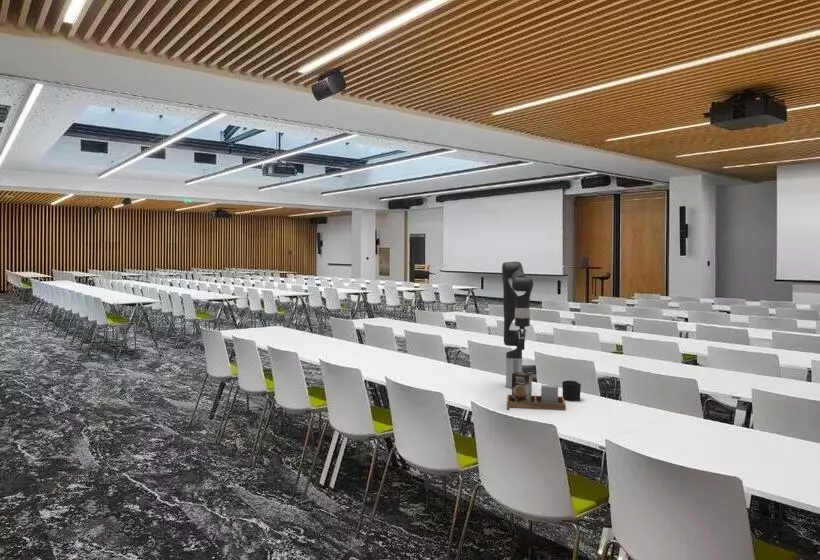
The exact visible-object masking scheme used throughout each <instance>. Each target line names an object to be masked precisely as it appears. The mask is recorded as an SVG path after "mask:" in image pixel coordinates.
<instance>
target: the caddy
mask: <svg viewBox="0 0 820 560" xmlns="http://www.w3.org/2000/svg"><path fill="white" fill-rule="evenodd" d="M506 398H507V399H506V410H508V411H509V410H510V409H525V410H527V409H528V410H550V411H552V410H553V411H566V408H567V407H566V402H565V400H564V398H563V396H558V404H557V403H541V395H532V398H531V402H512V394H507V397H506Z"/></svg>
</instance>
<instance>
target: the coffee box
mask: <svg viewBox="0 0 820 560" xmlns="http://www.w3.org/2000/svg"><path fill="white" fill-rule="evenodd" d="M532 381H533V373H532V372H531V373H530V372H523V371H522V372H514V373H512V388H511V395H512V402H531V398H532V396H533V395H532V394H533V393H532V390H533V388H532V385H533V383H532Z"/></svg>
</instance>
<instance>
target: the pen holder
mask: <svg viewBox="0 0 820 560" xmlns="http://www.w3.org/2000/svg"><path fill="white" fill-rule="evenodd" d="M561 382H562V383H561V385H562V397H563V398H564V401H566V402H579V401H581V388H582V384H581V383H579V382H578V381H576V380H564V381H561Z"/></svg>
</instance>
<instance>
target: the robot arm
mask: <svg viewBox="0 0 820 560" xmlns="http://www.w3.org/2000/svg"><path fill="white" fill-rule="evenodd" d="M501 274H502V285H503V286H502V287H503V288H502V289H503V294H502V295H503V297H502V299H503V303H502V304H503V344H504V345H505V346H507V347H516V348H514V349H512V350H509V351H507V352H506V355H505V387H506V388H508V389H512V373H514V372H522V373H523V351H524V350H525V342H526V338H527V336H526V334H527V329H526V327H530V325H531V318H530V317H531V311H530V310H531V309H530V301H531V295H532V291H533V288H534V280H533V279H532V277H527V276H526V275H525V272H524V268H523V264H522V263H521V262H520V261H507V262H502V265H501ZM509 279H511V280H512V281H511V284H510V281H509ZM517 292H524V293H523V294H522V295H518V294H517ZM513 322H514V326H515V327H518V329H516V330H515V329H510V328H511V325H512V324H513Z"/></svg>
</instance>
